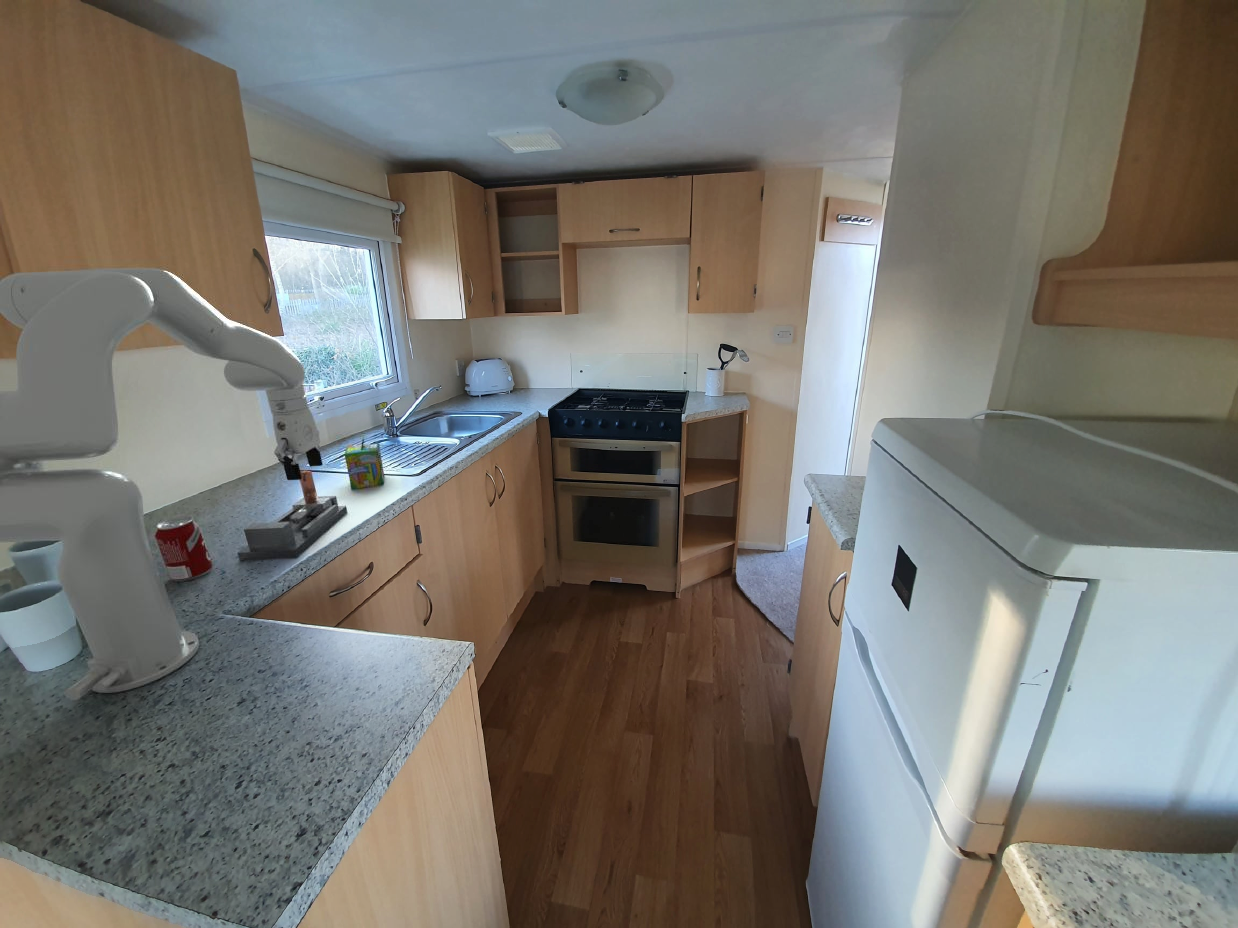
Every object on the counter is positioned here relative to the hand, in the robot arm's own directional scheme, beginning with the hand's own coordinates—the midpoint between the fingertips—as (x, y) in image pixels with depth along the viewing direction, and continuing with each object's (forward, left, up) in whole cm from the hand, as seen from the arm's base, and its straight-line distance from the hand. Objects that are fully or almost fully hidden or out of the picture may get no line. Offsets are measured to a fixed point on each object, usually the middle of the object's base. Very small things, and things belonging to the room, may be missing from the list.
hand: (305, 472), depth 120 cm
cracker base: (-8, 0, -13) cm, 15 cm away
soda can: (-25, +12, -13) cm, 31 cm away
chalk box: (+27, -2, -13) cm, 30 cm away
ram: (-3, 0, -11) cm, 11 cm away
